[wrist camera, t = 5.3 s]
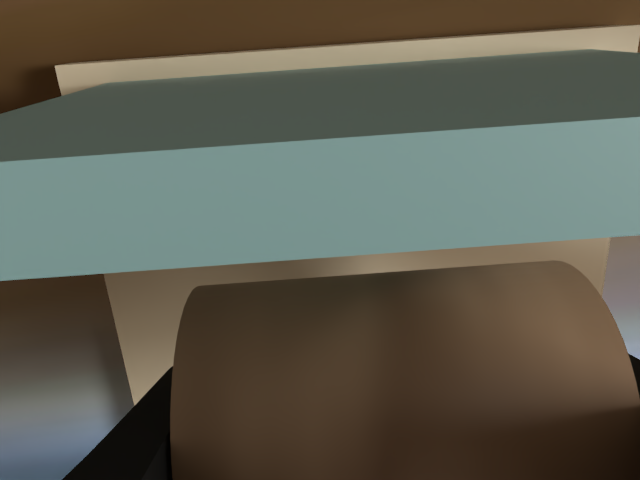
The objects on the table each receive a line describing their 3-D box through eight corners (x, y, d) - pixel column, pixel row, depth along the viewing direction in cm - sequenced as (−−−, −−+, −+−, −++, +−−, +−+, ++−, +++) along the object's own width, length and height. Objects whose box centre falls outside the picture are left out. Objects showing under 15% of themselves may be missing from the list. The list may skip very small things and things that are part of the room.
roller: (517, 432, 11) (635, 609, 7) (236, 453, 11) (195, 642, 7) (518, 236, 10) (655, 310, 6) (214, 258, 10) (152, 346, 6)
